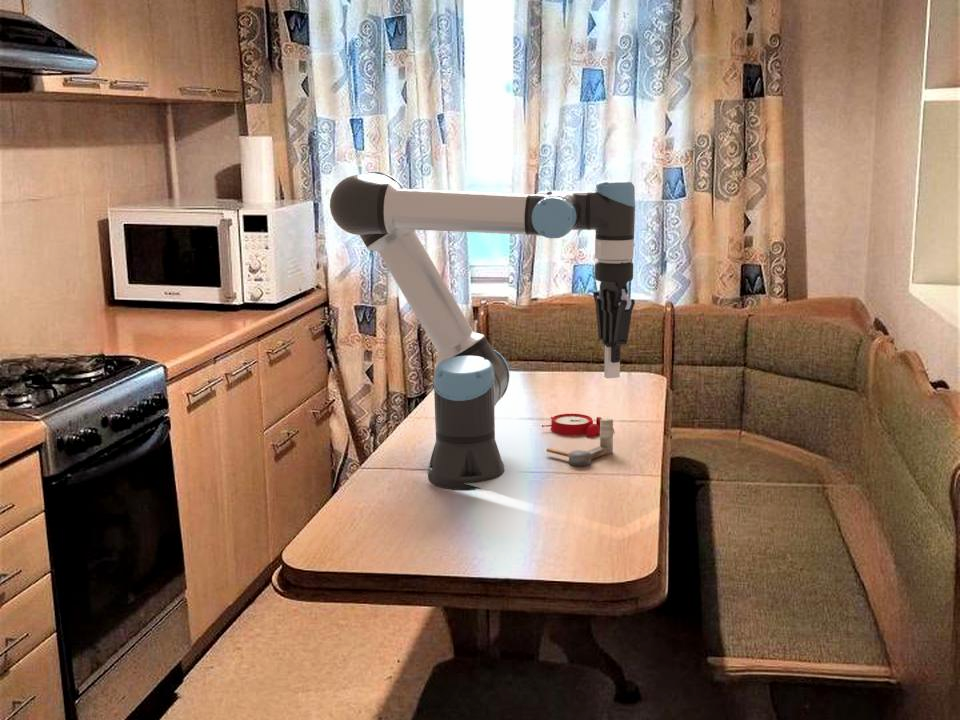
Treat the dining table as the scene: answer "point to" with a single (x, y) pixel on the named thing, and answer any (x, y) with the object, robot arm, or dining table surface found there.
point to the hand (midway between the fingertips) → (611, 377)
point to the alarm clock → (575, 425)
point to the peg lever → (585, 457)
